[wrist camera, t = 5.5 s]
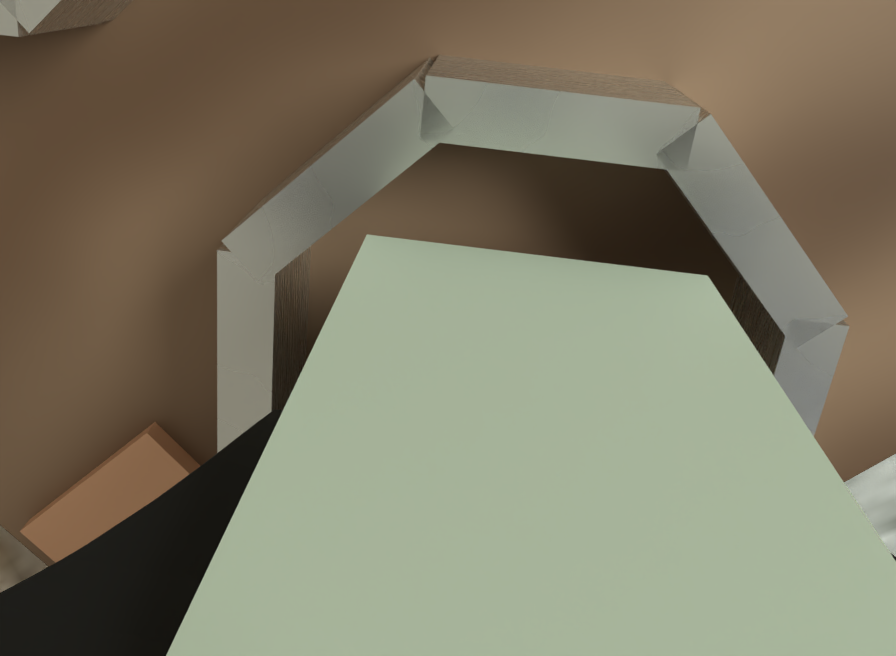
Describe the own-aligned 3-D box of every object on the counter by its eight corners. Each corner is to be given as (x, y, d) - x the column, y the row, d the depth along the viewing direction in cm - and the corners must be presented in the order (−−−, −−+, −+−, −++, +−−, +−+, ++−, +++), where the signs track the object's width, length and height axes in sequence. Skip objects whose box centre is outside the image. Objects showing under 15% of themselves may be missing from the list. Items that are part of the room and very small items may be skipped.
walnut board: (1062, 316, 15) (1099, 340, 14) (310, 746, 20) (301, 784, 19) (5, -1495, 8) (-57, -1678, 7) (-711, -156, 13) (-799, -164, 13)
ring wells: (869, 372, 14) (939, 450, 12) (470, 608, 17) (466, 709, 15) (-115, -1063, 9) (-333, -1426, 6) (-499, -390, 11) (-754, -479, 9)
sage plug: (639, 551, 13) (833, 1364, 5) (346, 515, 13) (139, 1273, 5) (707, 275, 11) (1133, 923, 4) (366, 234, 11) (100, 792, 4)
